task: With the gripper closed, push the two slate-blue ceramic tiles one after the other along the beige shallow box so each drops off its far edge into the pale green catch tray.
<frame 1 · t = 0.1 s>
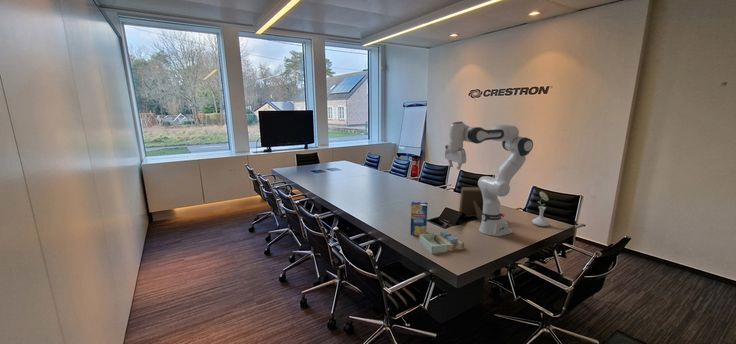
hand: (454, 168, 198), 48 cm above the table, fingers open, 8 cm apart
tile b: (452, 241, 191), point 4 cm above the table, touching beige shallow box
beige shallow box: (448, 244, 195), on the table
flower in vase: (539, 224, 228), on the table
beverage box: (418, 233, 213), on the table
tray: (432, 246, 192), on the table
photo frame: (474, 218, 243), on the table
tile a: (445, 236, 198), point 4 cm above the table, touching beige shallow box
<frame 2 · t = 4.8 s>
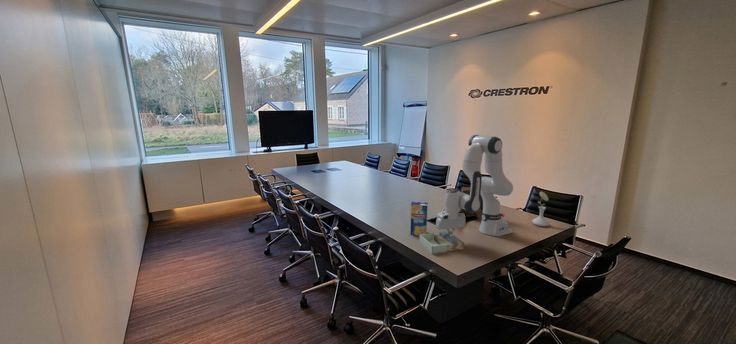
hand: (450, 234, 199), 5 cm above the table, fingers closed
nothing on the table moved.
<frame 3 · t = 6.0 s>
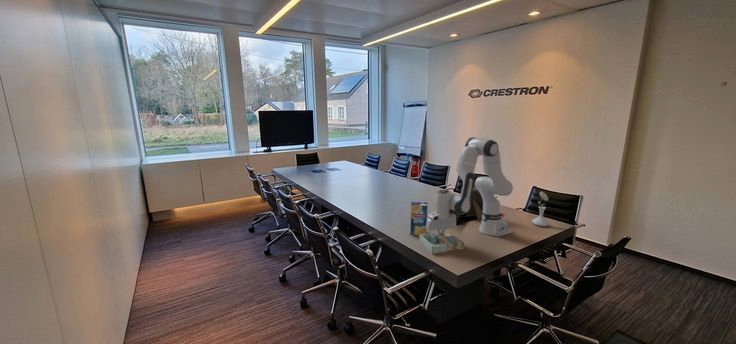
hand: (440, 235, 197), 5 cm above the table, fingers closed
tile a: (434, 238, 196), point 4 cm above the table, tilted 101°, touching tray
everything else where it was.
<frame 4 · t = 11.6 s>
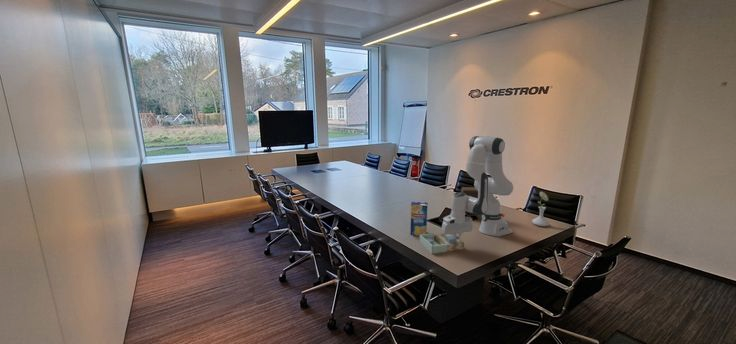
hand: (456, 239, 191), 5 cm above the table, fingers closed
tile b: (450, 241, 190), point 4 cm above the table, touching beige shallow box, gripper
tile a: (428, 239, 195), point 3 cm above the table, tilted 180°, touching tray
everything else where it was.
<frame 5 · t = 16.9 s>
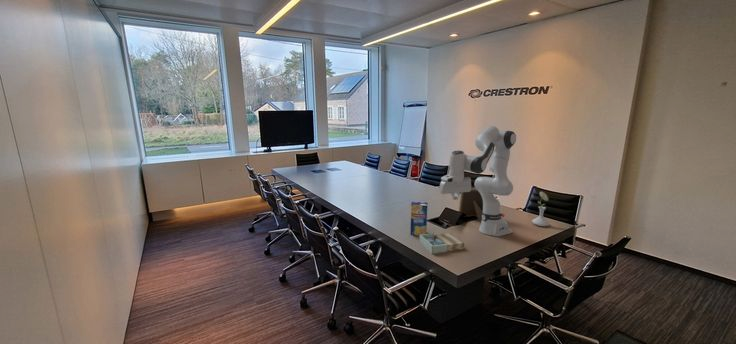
hand: (454, 199, 186), 31 cm above the table, fingers closed
tile b: (440, 244, 189), point 3 cm above the table, tilted 90°, touching tray
everything else where it was.
at the end: tile a inside the target area on the tray (4.1 cm from its centre), point 3.1 cm above the tray's base; tile b inside the target area on the tray (5.2 cm from its centre), point 3.1 cm above the tray's base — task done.
